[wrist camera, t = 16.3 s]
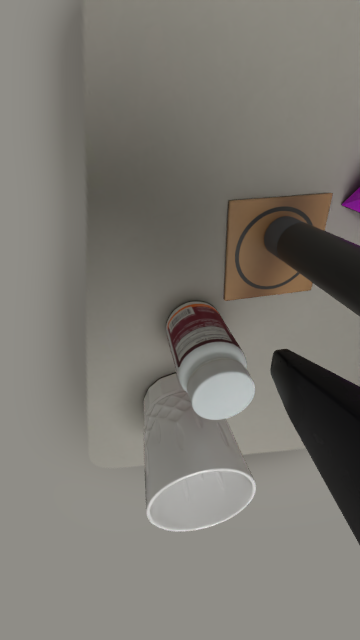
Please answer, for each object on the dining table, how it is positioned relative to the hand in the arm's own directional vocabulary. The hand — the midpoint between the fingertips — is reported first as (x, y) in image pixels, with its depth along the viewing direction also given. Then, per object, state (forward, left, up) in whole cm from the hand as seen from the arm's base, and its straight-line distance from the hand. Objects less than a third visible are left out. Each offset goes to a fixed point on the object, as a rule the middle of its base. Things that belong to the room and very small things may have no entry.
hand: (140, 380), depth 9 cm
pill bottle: (+5, -7, -13) cm, 16 cm away
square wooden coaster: (+11, -1, -13) cm, 17 cm away
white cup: (+3, -15, -13) cm, 20 cm away
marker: (+11, 0, -13) cm, 17 cm away
